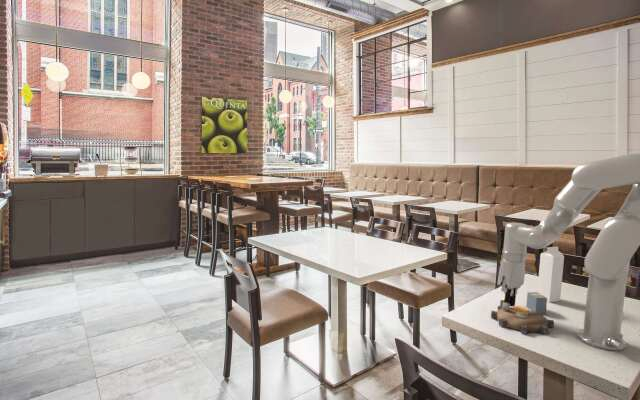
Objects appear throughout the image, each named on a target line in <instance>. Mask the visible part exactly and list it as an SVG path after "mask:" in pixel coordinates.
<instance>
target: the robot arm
mask: <svg viewBox="0 0 640 400" xmlns="http://www.w3.org/2000/svg"><path fill="white" fill-rule="evenodd" d="M629 185H632V188H631V190H630V192H629V194H628V195H627V196H626V198H625V200H624V202H623V203H622V205H621V207H620V209H619V210H618V212H617V213H616V214H615V215H614V216H613V217H611V218H610V219H609V220H607V222H605V224H604V225H603V227H602V229H601V230H600V231H599V233H598V235H597V237H596V238H595V240H594V241H593V244H591V247H590V248H589V250H588V252H587V253H586V256H585V258H584V264H583V265H584V268H585V270H586V272H587V274H588V275H589V276H588V281H587V290H586V299H585V300H586V301H585V310H584V318H583V319H584V321H583V328H582V329H579V330H578V331H577V333H576V336H577V338H578V339H579V340H580V341H581V342H583V343H584V344H585V343H586V344H588V345H589V346H591V347H595V348H598V349H599V348H600V349H603V350H609V351H621V350H625V348H627V347H628V346H629V343H628V342H627V341H625V340H623V338H624V334H623V333H622V323H623V314H624V304H625V298H626V292H627V291H626V289H627V283H628V282H627V281H628V276H629V271H630V265H631V263H630V261H631V259H632V258H633V256H634V255H635V253H636V251H637V250H638V248H639V247H640V153H638V152H637V153H635V152H634V153H628V154H624V155H620V156H615V157H610V158H605V159H601V160H599V159H598V160H595V161H587V162H583V163H580V164H579V165H577V166H576V167H575V168H574V169H573V170H572V174H571V179H570V180H569V181H568V183H566V185H565V186H564V187H563V188H562V189H561V191H560V192H559V193H558V194H557V195H556V196H555V198H554V201H553V206H552V208H551V210H550V211H549V213H548V214H547V215H546V216H545V218H544V219H543V220H542V221H541V222H540V223H539V224H538V225H536V226H528V225H527V224H525V223H522V222H516V221H515V222H514V221H513V222H507V223H506V224H505V228H504V238H503V251H502V258H501V259H502V260H501V262H500V266H499V270H498V277H497V286H499V287H501V289H500V291H501V292H503V293H504V298H505V301H504V303H509V304H510V307H513V306H516V298H517V294H518V290H519V289H520V288H521V286H523V285H524V283H525V276H526V275H525V273H526V260H527V259H526V257H527V252H528V251H527V248H528V247H529V248H530V249H534V250H535V249H536V250H539V249H544V248H545V247H546V248H547V247H548V246H550V245H551V244H553V243H555V242H556V241H557V240H558V239H559V238H560V236H561V235H562V234H564V232H565V231H566V230H567V229H568V227H570V225H571V224H572V223H573V222H574V221H575V219H577V217H579V215H580V214H581V213H582V212H583V210H584V209H585V208H586V207H587V206H588V205H589V203H591V202H592V200H593V199H594V198H595V197H596V196H597V195H598V194H599V193H600V192H601V191H602V190H603V189H604V190H605V189H610V188H615V187H624V186H629Z"/></svg>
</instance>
